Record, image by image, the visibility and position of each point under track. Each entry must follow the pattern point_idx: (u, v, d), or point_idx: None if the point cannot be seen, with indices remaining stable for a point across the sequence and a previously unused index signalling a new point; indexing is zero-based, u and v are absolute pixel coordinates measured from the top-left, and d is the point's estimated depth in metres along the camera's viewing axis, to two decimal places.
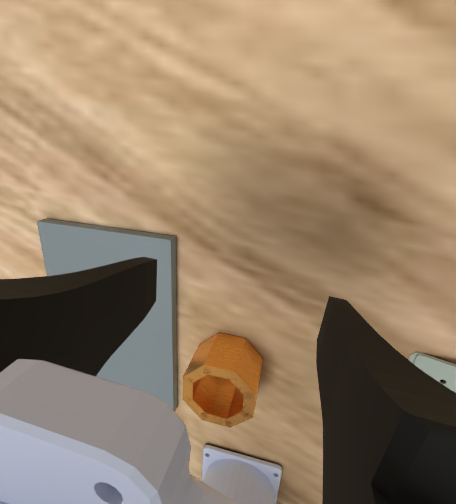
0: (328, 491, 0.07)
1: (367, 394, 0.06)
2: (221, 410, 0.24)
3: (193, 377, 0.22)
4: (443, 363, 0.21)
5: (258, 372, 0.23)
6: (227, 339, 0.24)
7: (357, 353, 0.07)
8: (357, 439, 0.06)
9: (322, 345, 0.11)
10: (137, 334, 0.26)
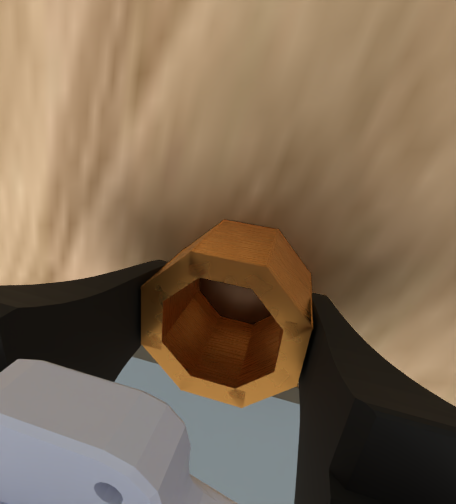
0: (299, 481, 0.07)
1: (331, 384, 0.06)
2: (281, 333, 0.10)
3: (176, 370, 0.11)
4: None
5: (208, 233, 0.11)
6: None
7: (327, 346, 0.07)
8: (322, 429, 0.06)
9: None
10: (188, 421, 0.16)
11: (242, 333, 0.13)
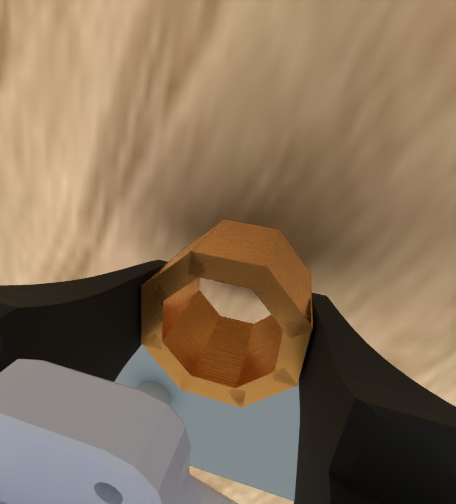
0: (299, 481, 0.07)
1: (331, 385, 0.06)
2: (281, 333, 0.10)
3: (176, 370, 0.11)
4: None
5: (208, 233, 0.11)
6: None
7: (327, 346, 0.07)
8: (322, 429, 0.06)
9: None
10: None
11: (242, 333, 0.13)
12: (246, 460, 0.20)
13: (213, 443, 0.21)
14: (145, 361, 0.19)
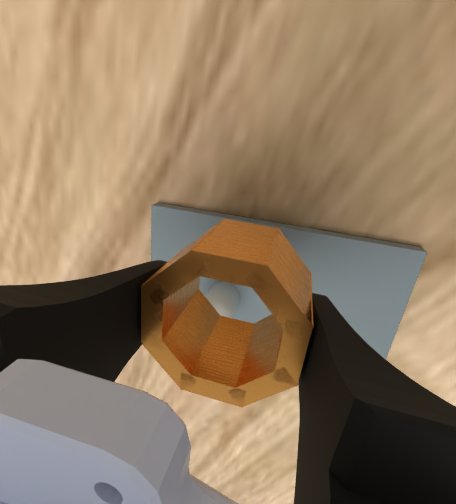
0: (299, 481, 0.07)
1: (331, 384, 0.06)
2: (281, 332, 0.10)
3: (176, 369, 0.11)
4: None
5: (208, 232, 0.11)
6: None
7: (327, 346, 0.07)
8: (322, 429, 0.06)
9: None
10: None
11: (243, 332, 0.13)
12: None
13: None
14: None
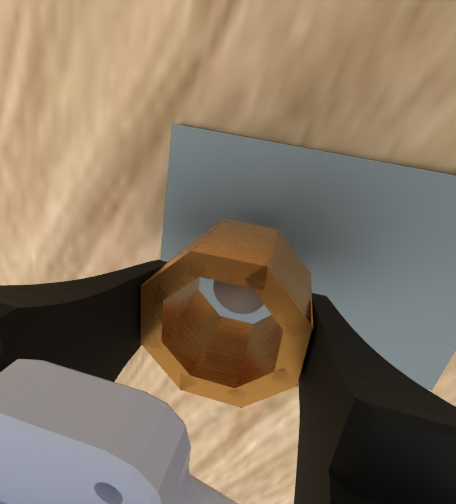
0: (299, 481, 0.07)
1: (331, 384, 0.06)
2: (281, 333, 0.10)
3: (176, 370, 0.11)
4: None
5: (208, 232, 0.11)
6: None
7: (327, 346, 0.07)
8: (322, 429, 0.06)
9: None
10: (328, 220, 0.16)
11: (242, 333, 0.13)
12: (358, 332, 0.17)
13: None
14: (253, 203, 0.16)
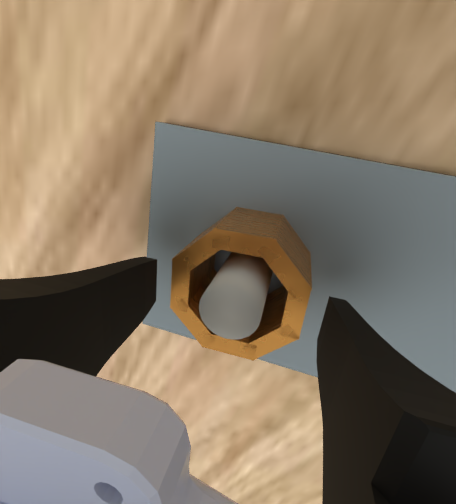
0: (328, 491, 0.07)
1: (367, 394, 0.06)
2: (286, 297, 0.12)
3: (199, 330, 0.13)
4: None
5: (225, 216, 0.13)
6: None
7: (357, 353, 0.07)
8: (357, 439, 0.06)
9: (322, 345, 0.11)
10: (330, 230, 0.14)
11: None
12: None
13: None
14: None
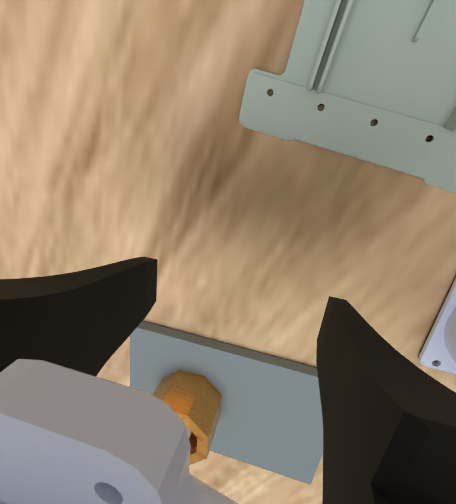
0: (328, 491, 0.07)
1: (367, 394, 0.06)
2: None
3: None
4: (247, 92, 0.17)
5: (168, 386, 0.24)
6: None
7: (357, 353, 0.07)
8: (357, 439, 0.06)
9: (322, 345, 0.11)
10: (230, 385, 0.25)
11: None
12: (260, 448, 0.27)
13: (234, 434, 0.27)
14: None
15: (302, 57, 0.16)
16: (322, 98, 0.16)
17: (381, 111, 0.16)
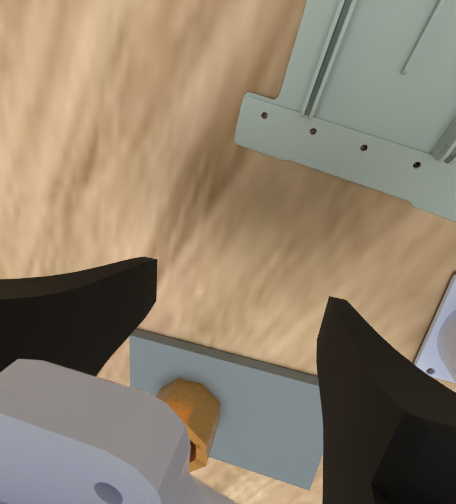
0: (328, 491, 0.07)
1: (367, 394, 0.06)
2: None
3: None
4: (242, 114, 0.18)
5: (168, 395, 0.24)
6: None
7: (357, 353, 0.07)
8: (357, 439, 0.06)
9: (322, 345, 0.11)
10: (229, 393, 0.25)
11: None
12: (259, 454, 0.27)
13: (233, 441, 0.27)
14: None
15: (295, 84, 0.16)
16: (314, 123, 0.17)
17: (371, 137, 0.16)
